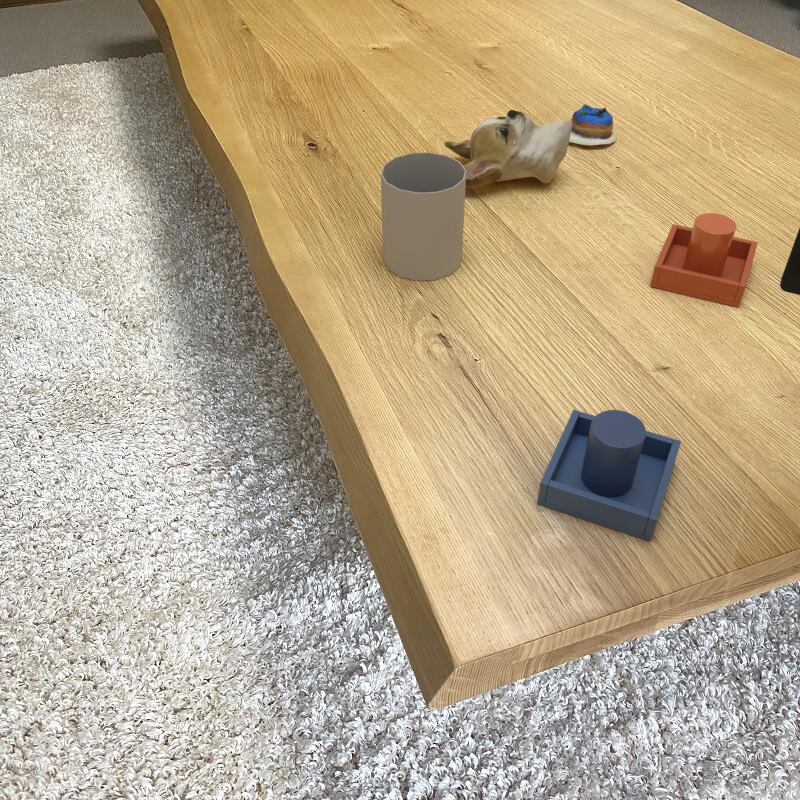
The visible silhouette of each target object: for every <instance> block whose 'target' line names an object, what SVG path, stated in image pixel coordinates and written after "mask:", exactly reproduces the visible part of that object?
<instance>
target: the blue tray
mask: <svg viewBox="0 0 800 800" xmlns="http://www.w3.org/2000/svg"><path fill="white" fill-rule="evenodd" d="M595 416H596V415H594V414H590V413H587V412H584V411H580V410H577V409H573V410H572V412H571V414H570V416H569V418H568V421H567V422H566V425H565V427H564V429H563V432H562V434H561V435H560V438H559V441H558V443H557V445H556V447H555V450H554V451H553V454H552V455H551V458H550V460H549V463H548V464H547V467H546V469H545V471H544V473H543V476H542V478H541V480H540V483H539V484H540V485H539V489H538V496H537V500H536V501H537V502H536V503H537V505H539V506H543V507H545V508H549V509H551V510H554V511H557V512H560V513H564V514H565V515H569V516H573V517H576V518H578V519H581V520H585V521H588V522H591V523H593V524H597V525H600V526H603V527H605V528H609V529H612V530H613V531H617V532H621V533H624V534H627V535H630V536H631V537H632V536H633V537H635V538H637V539H638V538H639V539H642V540H644V541H648V542H651V541H652V538H653V535H654V533H655V532H654V531H655V529H656V525H657V522H658V519H659V515H660V512H661V509H662V506H663V503H664V499H665V496H666V493H667V489H668V485H669V483H670V479H671V477H672V473H673V470H674V466H675V463H676V459H677V456H678V453H679V451H680V447H681V444H682V441H681V440H679V439H676V438H672V437H670V436H666V435H662V434H658V433H656V432H651V431H648V430H646V437H645V440H644V444H643V448H642V452H641V455H640V459H639V463H638V466H637V470H636V474H635V477H634V481H633V485H632V487H631V489H630V490H629V491H628V492H627V493H625V494H624V495H621V496H618V497H604V496H600V495H598V494H595V493H594V492H592V491H590V490H589V489H588V488H587V487H586V486H585V485H584V483H583V481H582V478H581V471H582V466H583V461H584V456H585V451H586V446H587V441H588V436H589V431H590V427H591V422H592V420H593V418H594V417H595Z"/></svg>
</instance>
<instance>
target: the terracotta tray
mask: <svg viewBox="0 0 800 800" xmlns="http://www.w3.org/2000/svg"><path fill="white" fill-rule="evenodd" d="M692 228H693V227H689V226H684V225H679V224H675V223H673V224H672V225H671V227H670V230H669V232H668V234H667V237H666V238H665V241H664V244H663V246H662V248H661V250H660V252H659V254H658V257H657V260H656V263H655V265H654V268H653V272H652V273H653V274H652V276H651V281H650V285H649V286H650V287H651V288H654V289H659V290H662V291H663V290H664V291H668V292H671V293H676V294H680V295H685V296H689V297H694V298H697V299H701V300H704V301H709V302H714V303H718V304H721V305H725V306H730V307H735V308H739V307H740V305H741V302H742V299H743V296H744V292H745V290H746V286H747V283H748V279H749V276H750V272H751V269H752V265H753V262H754V259H755V254H756V251H757V247H758V245H759V242H758V241H756V240H755V241H754V240H750V239H745V238H741V237H737V236H734V238H733V241H732V244H731V248H730V251H729V254H728V258H727V261H726V264H725V267H724V271H723V274H722V276H721V277H720V278H719V277H714V276H710V275H705V274H701V273H697V272H692V271H688V270H684V269H683V268H682V266H683V262H684V259H685V255H686V251H687V247H688V243H689V239H690V236H691V232H692Z"/></svg>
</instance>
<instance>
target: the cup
mask: <svg viewBox="0 0 800 800" xmlns="http://www.w3.org/2000/svg"><path fill="white" fill-rule="evenodd" d="M463 165H464V164H462V162H461V161H459V160H457V159H455V158H453V157H451V156H449V155H447V154H440V153H437V152H436V153H435V152H430V151H427V152H410V153H406V154H402V155H398V156H394V158H391V159H390V160H388V161H387V162H386V163H384V164H383V166H382V169H381V172H380V197H381V198H380V200H381V233H382V235H381V239H382V261H383V263H384V264H385V267H386V269H387V270H388V271H390V273H393V274H394V275H396V276H398V277H400V278H403V279H407V280H410V281H411V280H412V281H416V282H422V281H423V282H424V281H436V280H439V279H443V278H446V277H448V276H450V275H452V274H454V273H455V272H456V271H457V270H458V269H459V268H461V264H462V260H463V248H464V247H463V245H464V226H465V224H464V223H465V205H466V203H465V202H466V187H465V186H466V169H465V168H464V167H463Z"/></svg>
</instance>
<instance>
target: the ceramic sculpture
mask: <svg viewBox="0 0 800 800" xmlns="http://www.w3.org/2000/svg"><path fill="white" fill-rule="evenodd" d="M571 130H572V121H569V120H566V121H553V122H549V123H547V124H541V125H538V124H535V123H534V122H533V121H532V120H531V117H530V116H529V115H528V114H525V113H524V112H523V111H521V110H520V111H519V110H515V109H510V110H508V111H507V114H506V116H497V117H496V118H494V117H489V118H486V119H484V120H483V121H482V122H481V123H480V124H479V125H477V127H476V128H474V130H473V132H472V134H471V138H470V139H465V140H463V141H461V142H454V141H444V143H443V144H444V146H445V147H446V148H447V149H449V150H451V151H452V152H453V153H454V154H456V155H458V156H460V157H461V158H464V159H465V160H470V162H468V163H465V164H462V165H463V167H464V168H465V169H466V186H465V188H471V189H477V188H481V187H484V186H487V185H489V184H492V183H495V182H497V183H499V182H507V181H512V180H516V179H524V178H536V179H537V180H539V181H540V183H543V184H549V183H550V182H551V181H552V179H553V178H554V176H555V174H556V173H557V171H558V169H559V166H560V164H561V163H562V161H563V160H564V159H565V157H566V156H567V152H568V148H569V143H570V142H569V139H570V134H571Z"/></svg>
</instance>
